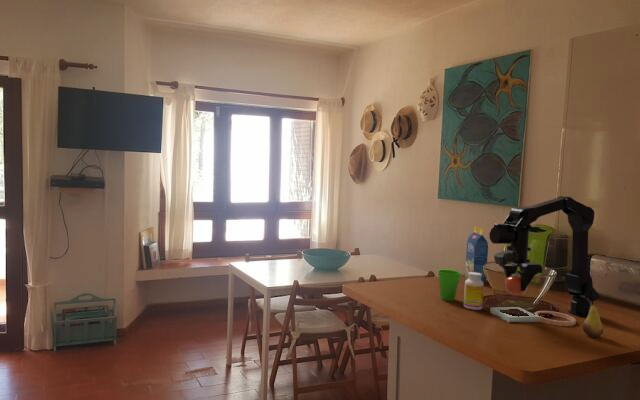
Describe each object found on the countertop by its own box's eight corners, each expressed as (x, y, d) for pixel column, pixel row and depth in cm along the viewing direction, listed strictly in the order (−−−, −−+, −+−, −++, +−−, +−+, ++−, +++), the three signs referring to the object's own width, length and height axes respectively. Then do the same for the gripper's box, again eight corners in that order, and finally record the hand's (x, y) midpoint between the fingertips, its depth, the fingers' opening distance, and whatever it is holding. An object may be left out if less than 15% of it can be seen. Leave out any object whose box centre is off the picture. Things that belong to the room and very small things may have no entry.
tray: (518, 312, 174) (518, 307, 174) (539, 322, 163) (539, 316, 162) (490, 312, 171) (490, 307, 171) (508, 322, 160) (509, 317, 160)
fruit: (594, 340, 146) (598, 301, 146) (578, 334, 151) (581, 296, 151) (607, 338, 148) (610, 300, 148) (590, 332, 154) (593, 295, 153)
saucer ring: (557, 314, 173) (558, 310, 173) (583, 325, 161) (583, 321, 161) (526, 314, 171) (527, 311, 171) (550, 326, 158) (551, 322, 158)
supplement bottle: (483, 311, 173) (485, 276, 172) (464, 309, 174) (466, 274, 174) (480, 306, 179) (483, 272, 179) (462, 304, 181) (464, 270, 180)
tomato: (521, 297, 161) (522, 274, 161) (500, 292, 167) (501, 270, 166) (531, 294, 166) (532, 271, 166) (510, 290, 172) (512, 268, 171)
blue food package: (472, 283, 219) (475, 229, 218) (464, 277, 231) (467, 226, 230) (485, 283, 219) (489, 229, 218) (477, 278, 231) (480, 226, 230)
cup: (432, 295, 192) (434, 268, 191) (454, 296, 193) (456, 269, 192) (440, 302, 183) (442, 273, 182) (463, 302, 184) (465, 274, 183)
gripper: (483, 239, 173) (481, 282, 174) (514, 247, 155) (511, 295, 156) (511, 239, 175) (508, 281, 176) (544, 248, 157) (541, 295, 158)
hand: (516, 288), depth 166 cm, fingers closed on tomato, 7 cm apart
